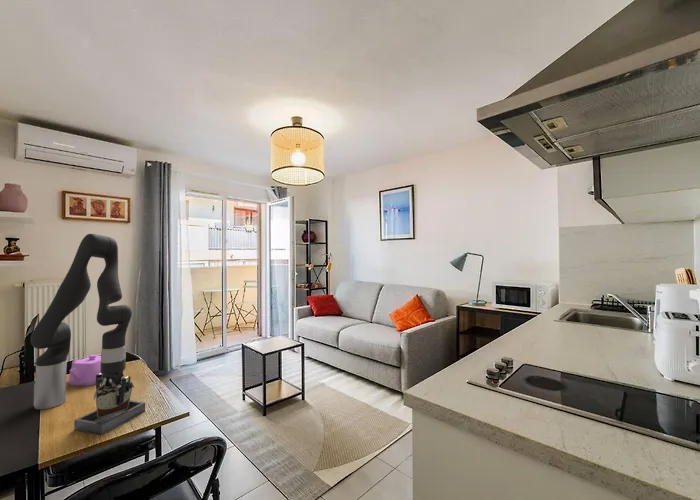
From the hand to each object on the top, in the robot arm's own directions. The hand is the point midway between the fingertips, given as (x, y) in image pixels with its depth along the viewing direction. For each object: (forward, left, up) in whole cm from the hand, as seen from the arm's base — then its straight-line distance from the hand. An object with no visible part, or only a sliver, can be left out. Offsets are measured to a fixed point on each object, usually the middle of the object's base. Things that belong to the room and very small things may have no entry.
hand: (112, 402), depth 116 cm
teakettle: (-45, +26, -7) cm, 52 cm away
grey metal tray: (0, 0, -6) cm, 6 cm away
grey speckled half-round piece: (-2, +1, -3) cm, 4 cm away
